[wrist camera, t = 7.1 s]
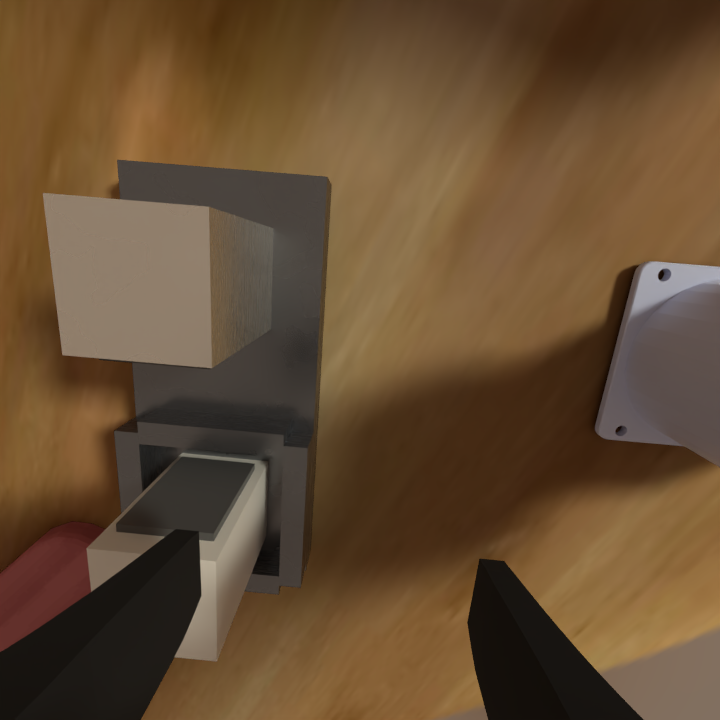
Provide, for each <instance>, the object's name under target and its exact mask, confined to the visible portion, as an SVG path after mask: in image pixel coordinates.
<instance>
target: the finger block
mask: <svg viewBox="0 0 720 720" xmlns="http://www.w3.org/2000/svg"><path fill="white" fill-rule="evenodd" d="M268 463H269V461H260V460H249V459H239V458H229V457H219V456H209V455H198V454H188V453H181V454H180V455H179V456H178V457H177V458H176V459H175V460H174V461H173V462H172V463H171V464H170V465H169V466H168V467H167V468H166V469H165V470H164V471H163V472H162V473H161V474H160V475H159V476H158V477H157V478H156V479H155V480H154V481H153V482H152V483H151V484H150V485H149V486H148V487H147V488H146V489H145V490H144V491H143V492H142V493H141V494H140V495H139V496H138V497H137V498H136V499H135V500H134V501H133V502H132V503H131V504H130V505H129V506H128V507H127V508H126V509H125V510H124V511H123V512H122V513H121V514H120V515H119V516H118V517H117V518H116V519H115V520H114V521H113V522H112V523H111V524H110V525H109V526H108V527H107V528H106V529H105V530H104V531H103V532H102V533H101V534H100V535H99V536H98V537H97V538H96V539H95V540H94V541H93V542H92V543H91V544H90V545H89V546H88V547H87V548H86V549H87V558H88V567H89V576H90V585H91V592H92V591H93V590H94V589H96V588H97V587H99V586H100V585H101V584H103V583H104V582H105V581H107V580H108V579H109V578H111V577H112V576H114V575H115V574H116V573H118V572H119V571H120V570H122V569H123V568H124V567H126V566H127V565H128V564H130V563H131V562H132V561H134V560H135V559H136V558H138V557H139V556H140V555H142V554H143V553H144V552H146V551H147V550H148V549H150V548H151V547H152V546H154V545H155V544H156V543H158V542H159V541H160V540H162V539H163V538H164V537H166V536H167V535H168V534H170V533H171V532H172V531H174V530H175V529H181V530H191V531H199V542H200V569H201V595H202V596H201V598H200V601H199V603H198V606H197V608H196V611H195V613H194V616H193V618H192V621H191V623H190V625H189V628H188V630H187V632H186V635H185V637H184V639H183V641H182V643H181V645H180V647H179V649H178V651H177V653H176V655H175V657H177V658H187V659H197V660H206V661H216V662H217V660H218V658H219V655H220V652H221V650H222V647H223V645H224V642H225V640H226V637H227V635H228V632H229V629H230V627H231V624H232V622H233V619H234V617H235V614H236V611H237V609H238V606H239V604H240V601H241V599H242V596H243V594H244V591H245V588H246V586H247V583H248V581H249V578H250V576H251V573H252V571H253V568H254V565H255V563H256V560H257V558H258V555H259V553H260V550H261V547H262V545H263V542H264V540H265V537H266V527H267V495H268Z"/></svg>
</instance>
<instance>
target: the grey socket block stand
mask: <svg viewBox="0 0 720 720" xmlns="http://www.w3.org/2000/svg"><path fill="white" fill-rule="evenodd" d="M117 163H118V177H119V190H120V199H109V198H97V197H85V196H73V195H61V194H49V193H43V199H44V207H45V215H46V224H47V232H48V240H49V248H50V257H51V265H52V273H53V281H54V290H55V298H56V306H57V315H58V323H59V331H60V339H61V348H62V355H67V356H78V357H89V358H99V360H107V361H119V362H130V363H132V367H133V381H134V395H135V408H136V417H135V418H133V419H131V420H130V421H128V422H127V423H125V424H124V425H122V426H121V427H119V428H118V429H116V430H115V431H114V436H115V447H116V458H117V469H118V481H119V492H120V503H121V513H122V512H123V511H124V510H125V509H126V508H127V507H128V506H129V505H130V504H131V503H132V502H133V501H134V500H135V499H136V498H137V497H138V496H139V495H140V494H141V493H142V492H143V491H144V490H145V489H146V488H147V487H148V486H149V485H150V484H151V483H152V482H153V481H154V480H155V479H156V478H157V477H158V476H159V475H160V474H161V473H162V472H163V471H164V470H165V469H166V468H167V467H168V466H169V465H170V464H171V463H172V462H173V461H174V460H175V459H176V458H177V457H178V456H179V455H180V454H181V453H188V454H198V455H209V456H219V457H229V458H239V459H249V460H260V461H269V463H268V495H267V527H266V537H265V540H264V542H263V545H262V547H261V550H260V553H259V555H258V558H257V560H256V563H255V565H254V568H253V571H252V573H251V576H250V578H249V581H248V583H247V586H246V588H245V591H247V592H257V593H268V594H278V595H279V591H280V588H281V586H288V587H299V588H301V584H302V579H303V575H304V571H306V568H307V563H308V558H309V554H310V549H311V534H312V516H313V499H314V481H315V464H316V446H317V429H318V411H319V394H320V376H321V359H322V342H323V324H324V307H325V289H326V272H327V254H328V237H329V219H330V202H331V183H330V181H329V179H328V177H323V176H310V175H298V174H286V173H273V172H261V171H249V170H237V169H224V168H212V167H200V166H187V165H175V164H163V163H151V162H138V161H126V160H117Z"/></svg>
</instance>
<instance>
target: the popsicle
mask: <svg viewBox="0 0 720 720" xmlns="http://www.w3.org/2000/svg"><path fill="white" fill-rule="evenodd" d="M104 530H105V529H103V528H101V527H99V526H96V525H94V524H92V523H83V522H73V521H72V522H69V523H66V524H63V525H60V526H57V527H54V528H52V529H51V530H49V531H48V532H47V533H46V534H45V535H43V536H42V537H41V538H40V539H39V540H37V541H36V542H35V543H34V544H33V545H32V546H31V547H29V548H28V549H27V550H26V551H25V552H24V553H23V554H22V555H20V556H19V557H18V558H17V559H16V560H15V561H14V562H13V563H11V564H10V565H9V566H8V567H7V568H6V569H5V570H3V571H2V572H1V573H0V652H1V651H3V650H4V649H6V648H8V647H9V646H11V645H12V644H14V643H16V642H17V641H19V640H20V639H22V638H24V637H25V636H27V635H28V634H30V633H31V632H33V631H34V630H36V629H38V628H39V627H41V626H42V625H44V624H45V623H46V622H48V621H49V620H51V619H52V618H54V617H55V616H57V615H58V614H60V613H61V612H63V611H64V610H65V609H67V608H68V607H70V606H71V605H73V604H74V603H76V602H77V601H79V600H80V599H81V598H83V597H84V596H86V595H87V594H89V593H90V592H91V585H90V576H89V567H88V558H87V549H86V548H87V547H88V546H89V545H90V544H91V543H92V542H93V541H94V540H95V539H96V538H97V537H98V536H99V535H100V534H101V533H102V532H103V531H104Z"/></svg>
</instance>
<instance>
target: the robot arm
mask: <svg viewBox="0 0 720 720" xmlns="http://www.w3.org/2000/svg"><path fill="white" fill-rule="evenodd" d="M661 270H663V271H664V276H663V278H662V279H661V280H659V279H658V273H659V272H660V271H661ZM619 426H622V428H621V430H620V431H618V432H615V430H616V428H617V427H619ZM595 431H596V433H597V434H598V435H599V436H601V437H602V438H604V439H608V440H619V441H630V442H642V443H653V444H664V445H675V446H685V447H686V448H688V449H690V450H691V451H693V452H695V453H696V454H698V455H700V456H701V457H703V458H705V459H707V460H708V461H710V462H712V463H713V464H715V465H717V466H718V467H720V267H714V266H702V265H690V264H678V263H666V262H644V263H642V264H640V265H639V266H638V267H637V268H636V271H635V273H634V277H633V280H632V284H631V288H630V292H629V296H628V300H627V304H626V308H625V311H624V315H623V319H622V323H621V327H620V331H619V335H618V339H617V342H616V346H615V350H614V354H613V358H612V362H611V366H610V370H609V374H608V377H607V381H606V385H605V389H604V393H603V397H602V401H601V405H600V408H599V412H598V416H597V420H596V424H595ZM201 596H202V595H201V569H200V542H199V531H191V530H181V529H175V530H174V531H172V532H171V533H170V534H168V535H167V536H166V537H164V538H163V539H162V540H160V541H159V542H158V543H156V544H155V545H154V546H152V547H151V548H150V549H148V550H147V551H146V552H144V553H143V554H142V555H140V556H139V557H138V558H136V559H135V560H134V561H132V562H131V563H130V564H128V565H127V566H126V567H124V568H123V569H122V570H120V571H119V572H118V573H116V574H115V575H114V576H112V577H111V578H109V579H108V580H107V581H105V582H104V583H103V584H101V585H100V586H99V587H97V588H96V589H94V590H93V591H92V592H90V593H89V594H87V595H86V596H84V597H83V598H81V599H80V600H79V601H77V602H76V603H74V604H73V605H71V606H70V607H68V608H67V609H65V610H64V611H63V612H61V613H60V614H58V615H57V616H55V617H54V618H52V619H51V620H49V621H48V622H46V623H45V624H44V625H42V626H41V627H39V628H38V629H36V630H34V631H33V632H31V633H30V634H28V635H27V636H25V637H24V638H22V639H20V640H19V641H17V642H16V643H14V644H12V645H11V646H9V647H8V648H6V649H4V650H3V651H1V652H0V720H141V718H142V716H143V714H144V713H145V711H146V709H147V707H148V705H149V703H150V701H151V700H152V698H153V696H154V694H155V692H156V690H157V688H158V687H159V685H160V683H161V681H162V679H163V677H164V675H165V674H166V672H167V670H168V668H169V666H170V664H171V662H172V660H173V659H174V657H175V655H176V653H177V651H178V649H179V647H180V645H181V643H182V641H183V639H184V637H185V635H186V632H187V630H188V628H189V625H190V623H191V621H192V618H193V616H194V613H195V611H196V608H197V606H198V603H199V601H200V598H201ZM468 629H469V636H470V642H471V648H472V654H473V660H474V665H475V671H476V675H477V679H478V683H479V687H480V690H481V694H482V698H483V702H484V705H485V709H486V713H487V716H488V720H643V719H642V718H641V717H640V716H639V715H638V714H637V713H636V712H635V711H634V710H633V709H632V708H631V707H630V706H629V705H628V704H627V702H625V700H624V699H623V698H622V697H621V696H620V695H619V694H618V693H617V692H616V691H615V690H614V689H613V688H612V687H611V686H610V685H609V684H608V683H607V681H606V680H605V679H604V678H603V677H602V676H601V675H600V674H599V673H598V672H597V671H596V670H595V669H594V667H593V666H592V665H591V664H590V663H589V662H588V661H587V660H586V659H585V658H584V656H583V655H582V654H581V653H580V652H579V651H578V650H577V649H576V647H575V646H574V645H573V644H572V643H571V642H570V640H569V639H568V638H567V637H566V636H565V635H564V633H563V632H562V631H561V630H560V629H559V628H558V627H557V625H556V624H555V623H554V622H553V621H552V619H551V618H550V617H549V616H548V615H547V613H546V612H545V611H544V610H543V609H542V607H541V606H540V605H539V604H538V602H537V601H536V600H535V599H534V598H533V596H532V595H531V594H530V593H529V591H528V590H527V589H526V588H525V586H524V585H523V584H522V583H521V581H520V580H519V579H518V578H517V577H516V575H515V574H514V573H513V572H512V570H511V569H510V568H509V567H508V566H507V564H506V563H505V562H504V561H497V560H487V559H479V565H478V570H477V575H476V580H475V586H474V591H473V596H472V602H471V607H470V612H469V617H468Z"/></svg>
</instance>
